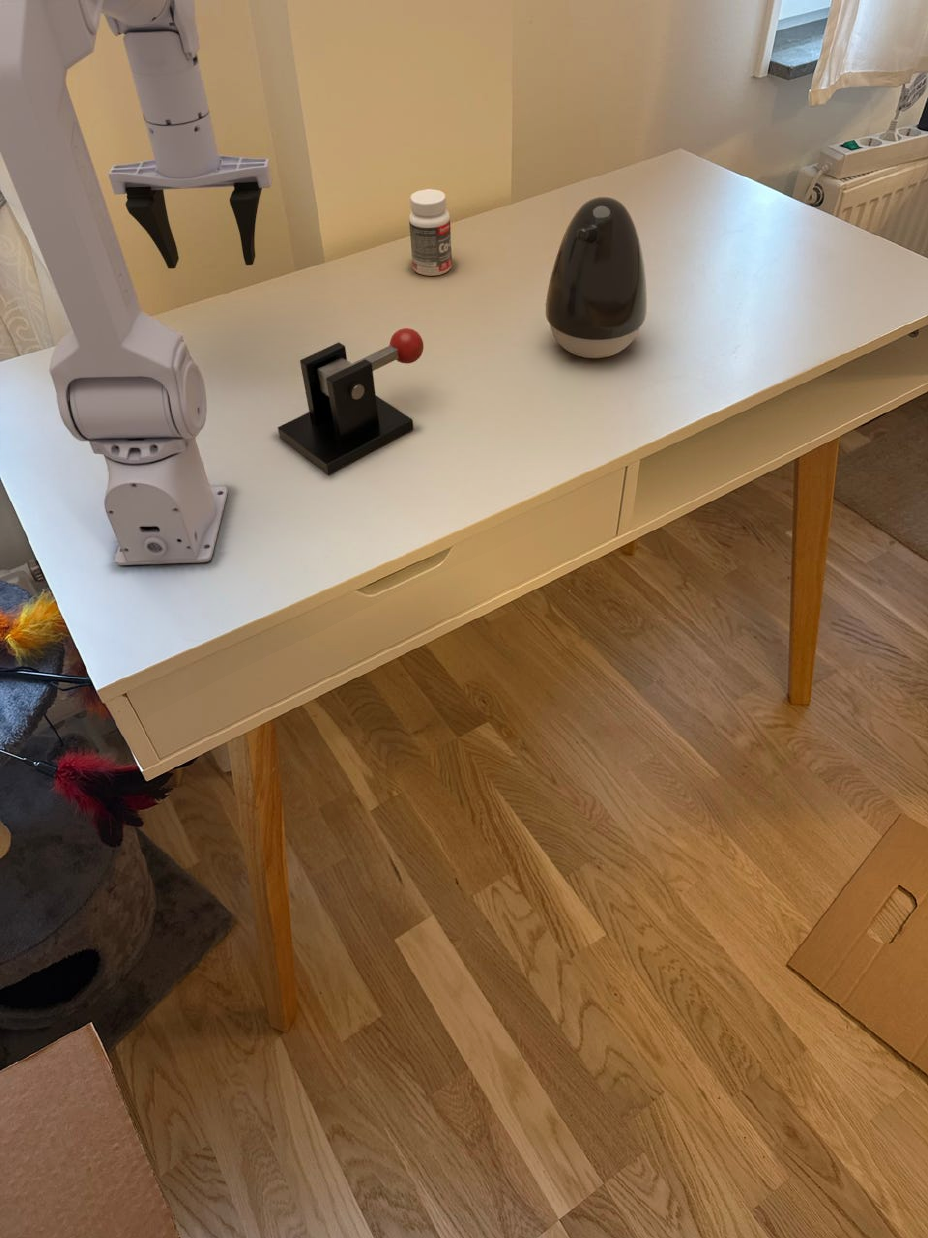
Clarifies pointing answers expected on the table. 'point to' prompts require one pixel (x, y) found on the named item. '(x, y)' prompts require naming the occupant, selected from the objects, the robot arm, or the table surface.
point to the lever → (380, 355)
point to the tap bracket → (342, 414)
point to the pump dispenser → (598, 282)
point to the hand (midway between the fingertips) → (212, 262)
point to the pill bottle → (430, 233)
